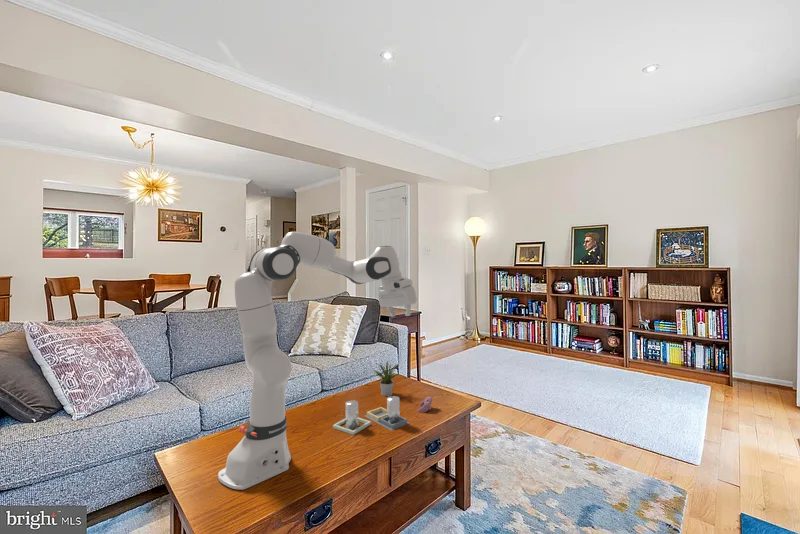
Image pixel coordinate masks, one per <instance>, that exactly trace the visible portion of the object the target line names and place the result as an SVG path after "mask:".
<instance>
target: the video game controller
mask: <svg viewBox="0 0 800 534" xmlns="http://www.w3.org/2000/svg"><path fill="white" fill-rule="evenodd" d="M432 401H433V397H430V396H427V397H425V398H424V400H422V401H421V402H420V404H419V406H420V408H418V409H417V412H418V413H426V412H428V411H429V410H431V409H432V407H431V406H432V405H431V404H432Z"/></svg>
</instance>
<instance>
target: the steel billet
mask: <svg viewBox="0 0 800 534" xmlns="http://www.w3.org/2000/svg"><path fill="white" fill-rule="evenodd" d="M345 418H346V422H345V428H347V429H350V430H355V429H357V428H358V427H359V422H358V418H359V401H358V400H354V399H353V400H351V399H350V400H348V401H346V402H345Z"/></svg>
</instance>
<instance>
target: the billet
mask: <svg viewBox="0 0 800 534" xmlns="http://www.w3.org/2000/svg"><path fill="white" fill-rule="evenodd" d="M400 409H401V406H400V396H396V395H391V396H387V398H386V410H387V422H389V423H391V424H394V423H397V422H399V421H400V416H401V415H400V414H401V413H400Z"/></svg>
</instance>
